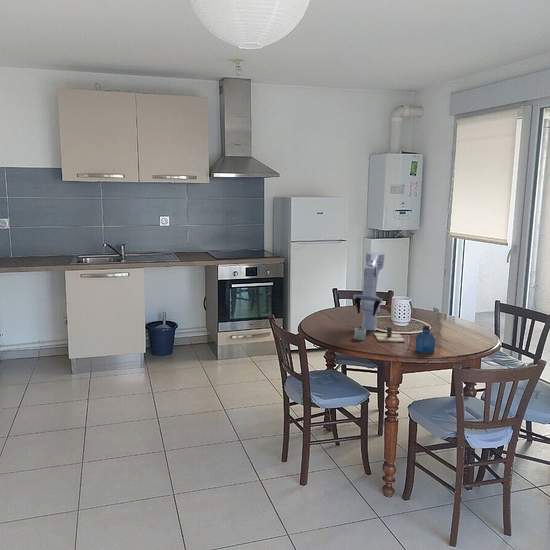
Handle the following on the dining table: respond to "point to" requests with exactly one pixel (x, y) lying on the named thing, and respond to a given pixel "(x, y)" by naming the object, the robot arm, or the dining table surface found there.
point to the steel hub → (360, 334)
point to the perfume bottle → (425, 341)
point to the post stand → (389, 336)
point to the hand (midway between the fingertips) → (366, 314)
